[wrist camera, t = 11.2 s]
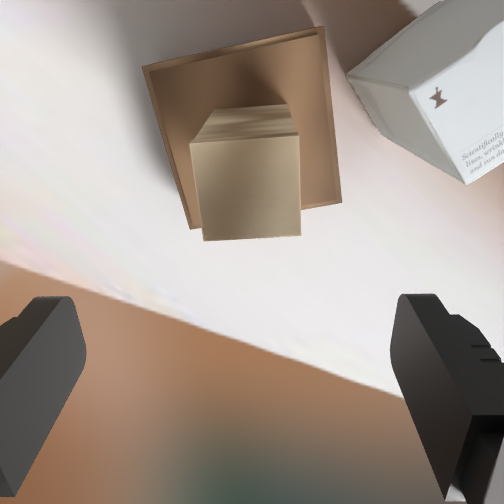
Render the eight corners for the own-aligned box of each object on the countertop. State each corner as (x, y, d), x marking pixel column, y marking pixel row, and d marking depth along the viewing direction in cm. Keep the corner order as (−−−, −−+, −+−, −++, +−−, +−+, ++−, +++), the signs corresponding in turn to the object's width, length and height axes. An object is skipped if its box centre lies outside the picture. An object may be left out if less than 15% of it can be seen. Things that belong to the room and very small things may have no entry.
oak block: (288, 103, 28) (298, 135, 19) (290, 176, 30) (301, 235, 21) (213, 108, 28) (189, 143, 19) (221, 180, 30) (203, 241, 21)
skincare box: (380, 134, 33) (459, 199, 20) (340, 70, 31) (400, 95, 18) (479, 65, 31) (643, 87, 18) (443, -10, 29) (601, -50, 15)
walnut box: (314, 27, 30) (324, 25, 25) (331, 182, 36) (342, 203, 31) (158, 62, 31) (140, 66, 27) (198, 206, 37) (189, 230, 32)
